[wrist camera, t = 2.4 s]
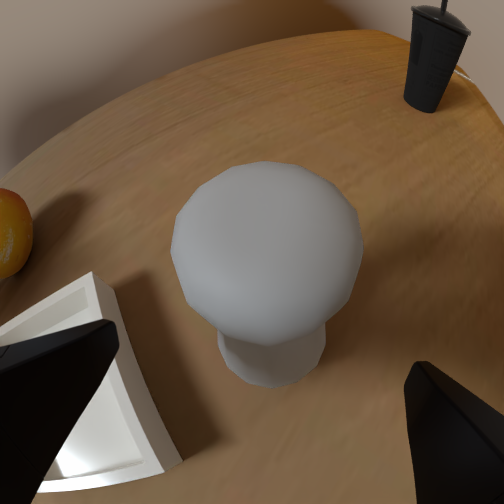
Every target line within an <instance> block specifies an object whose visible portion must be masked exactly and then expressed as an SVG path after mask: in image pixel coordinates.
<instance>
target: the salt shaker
mask: <svg viewBox="0 0 504 504" xmlns="http://www.w3.org/2000/svg"><path fill="white" fill-rule="evenodd" d="M363 250H364V246H363V240H362V235H361V230H360V225H359V220H358V215H357V211H356V210H355V209H354V208H353V206H352V205H351V204H350V203H349V201H348V200H347V199H346V198H345V197H344V195H343V194H342V193H341V192H340V191H339V189H338V188H337V187H336V186H335V185H334V184H333V183H331V182H330V181H328V180H326V179H324V178H322V177H321V176H319V175H317V174H315V173H313V172H311V171H309V170H308V169H306V168H304V167H302V166H299V165H293V164H285V163H278V162H269V161H261V162H256V163H250V164H245V165H240V166H235V167H231V168H229V169H228V170H226V171H224V172H223V173H221V174H219V175H218V176H216V177H214V178H213V179H211V180H210V181H208V182H206V183H205V184H203V185H201V186H200V187H198V188H197V190H196V191H195V192H194V194H193V195H192V196H191V197H190V199H189V200H188V201H187V203H186V204H185V205H184V207H183V208H182V209H181V211H180V212H179V213H178V215H177V216H176V221H175V227H174V232H173V238H172V244H171V251H170V252H171V256H172V259H173V263H174V266H175V269H176V272H177V275H178V278H179V281H180V284H181V286H182V289H183V292H184V295H185V298H186V301H187V303H188V304H189V305H190V306H191V307H192V308H193V309H194V310H195V311H196V312H198V313H199V314H200V315H201V316H202V317H203V318H205V319H206V320H207V321H208V322H209V323H211V324H212V325H213V326H214V327H216V328H217V329H218V346H219V349H220V351H221V353H222V356H223V358H224V360H225V362H226V365H227V367H228V368H229V369H230V370H232V371H233V372H234V373H235V374H237V375H238V376H239V377H240V378H242V379H243V380H244V381H245V382H247V383H250V384H254V385H259V386H263V387H268V388H276V387H280V386H284V385H288V384H292V383H296V382H298V381H299V380H300V379H302V378H303V377H304V376H305V375H307V374H308V373H309V372H310V371H311V370H313V369H314V368H315V367H316V366H317V364H318V362H319V359H320V357H321V355H322V352H323V350H324V347H325V345H326V332H325V322H326V321H328V320H329V319H330V318H331V317H332V316H333V315H335V314H336V313H337V312H338V311H339V310H340V309H341V308H342V307H343V306H344V305H345V304H346V303H347V302H348V301H349V298H350V295H351V292H352V289H353V286H354V283H355V280H356V277H357V274H358V271H359V268H360V265H361V261H362V255H363Z"/></svg>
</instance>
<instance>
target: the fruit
mask: <svg viewBox="0 0 504 504" xmlns="http://www.w3.org/2000/svg"><path fill="white" fill-rule="evenodd" d="M32 243H33V222H32V218H31V215H30V212H29V209H28V207H27V205H26V203H25V201H24V200H23V199H22V198H21V197H20V196H19V195H18V194H17V193H15V192H13V191H10V190H7V189H3V188H0V279H4V278H7V277H10V276H12V275H13V274H15V273H16V272H18V271H19V270H20V269H21V268H22V267H23V266H24V264H25V263H26V261H27V259H28V256H29V254H30V252H31V249H32Z"/></svg>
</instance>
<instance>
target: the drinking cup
mask: <svg viewBox="0 0 504 504" xmlns="http://www.w3.org/2000/svg"><path fill="white" fill-rule="evenodd" d="M447 2H448V0H442V3H441V8H438V7H433V6H426V5H425V6H424V5H423V6H412V7H411V10H412V11H413V18H412V19H413V20H412V33H411V44H410V54H409V62H408V70H407V77H406V84H405V90H404V99H405V101H406V102H407V103H408V104H409V105H411V106H412V107H414V108H416V109H418V110H420V111H423V112H426V113H433V112H435V110H436V108H437V106H438V104H439V102H440V100H441V98H442V96H443V93H444V91H445V89H446V87H447V85H448V83H449V80H450V78H451V76H452V74H453V71H454V69H455V67H456V64H457V62H458V60H459V57H460V54H461V52H462V50H463V47H464V45H465V42H466V40H467V37H468V35H469V36H470V35H471V31H470V30H469V29H467V28H466V26H465V25H464V24H463V23H462V22H461V21H460V20H459V19H458V18H457V17H455V16H454V15H452V14H451V13H449V12H447V11H446V8H447Z"/></svg>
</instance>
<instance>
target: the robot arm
mask: <svg viewBox="0 0 504 504" xmlns="http://www.w3.org/2000/svg"><path fill="white" fill-rule="evenodd" d="M119 346H120V342H119V337H118V332H117V327H116V324H115V322H114V321H111V320H108V319H99V320H96V321H92V322H89V323H85V324H82V325H78V326H75V327H71V328H68V329H64V330H61V331H57V332H54V333H50V334H46V335H43V336H39V337H35V338H32V339H28V340H24V341H21V342H17V343H13V344H11V345H10V344H9V345H5V346H1V347H0V504H31V502H32V500H33V499H34V497H35V495H36V493H37V491H38V489H39V487H40V485H41V483H42V482H43V480H44V477H45V476H46V474H47V472H48V470H49V469H50V467H51V465H52V463H53V462H54V460H55V458H56V456H57V455H58V453H59V451H60V450H61V448H62V446H63V444H64V443H65V441H66V439H67V438H68V436H69V434H70V433H71V431H72V429H73V428H74V426H75V425H76V423H77V421H78V420H79V418H80V416H81V415H82V413H83V412H84V410H85V408H86V407H87V405H88V404H89V402H90V401H91V399H92V397H93V396H94V394H95V393H96V391H97V390H98V388H99V386H100V385H101V383H102V381H103V379H104V377H105V375H106V373H107V371H108V369H109V367H110V365H111V363H112V362H113V360H114V358H115V356H116V354H117V352H118V350H119ZM404 397H405V407H406V419H407V431H408V438H409V444H410V450H411V457H412V464H413V471H414V479H415V488H416V499H417V504H504V416H503V415H502V414H501V413H499V412H498V411H496V410H495V409H494V408H492V407H491V406H490V405H488V404H487V403H485V402H484V401H483V400H481V399H480V398H478V397H477V396H476V395H474V394H473V393H472V392H470V391H469V390H467V389H466V388H465V387H463V386H462V385H460V384H459V383H458V382H456V381H455V380H453V379H452V378H451V377H449V376H448V375H446V374H445V373H444V372H442V371H441V370H439V369H438V368H437V367H435V366H434V365H432V364H431V363H430V362H428V361H416V362H415V363H414V364H413V366H412V368H411V370H410V372H409V375H408V377H407V379H406V381H405V384H404Z"/></svg>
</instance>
